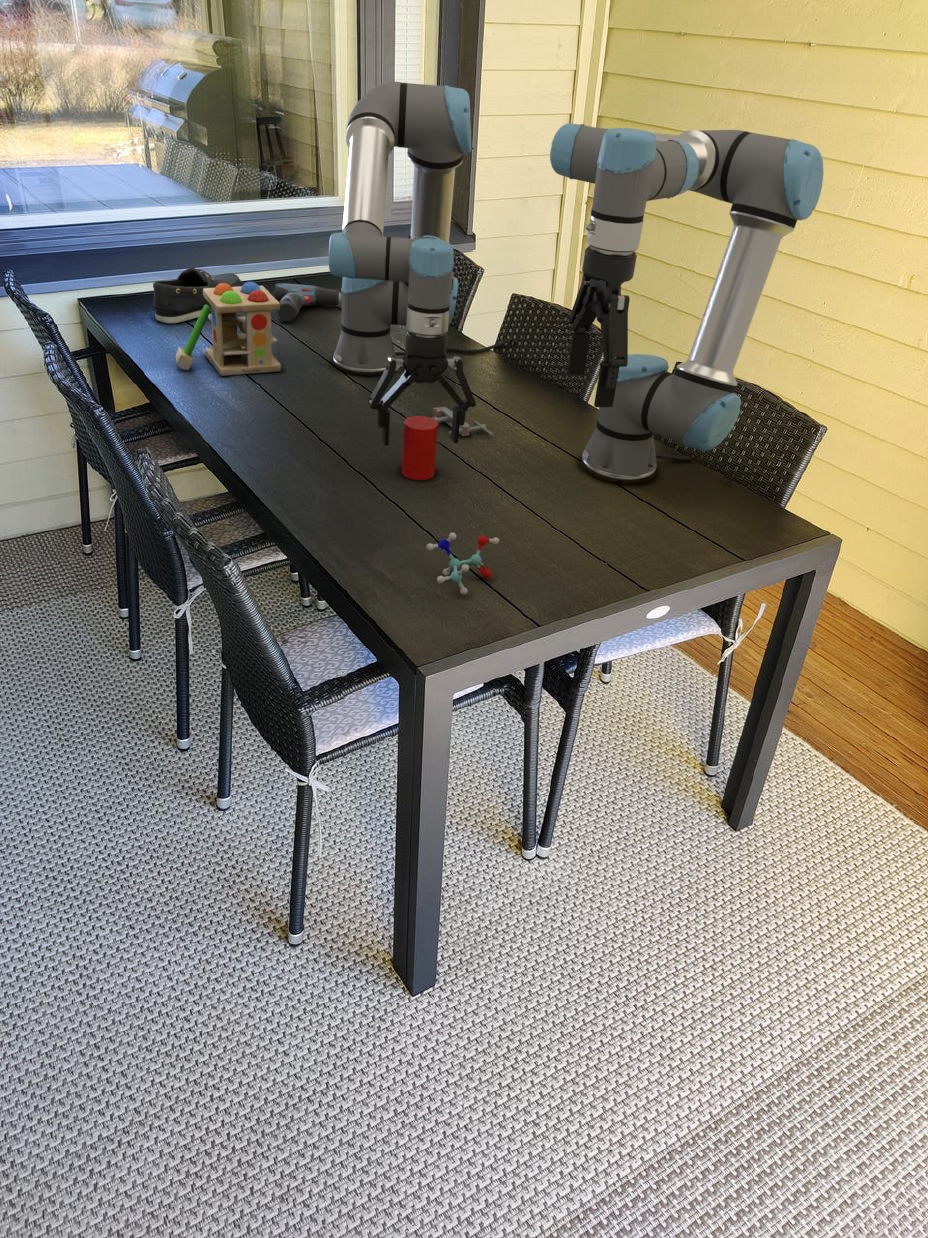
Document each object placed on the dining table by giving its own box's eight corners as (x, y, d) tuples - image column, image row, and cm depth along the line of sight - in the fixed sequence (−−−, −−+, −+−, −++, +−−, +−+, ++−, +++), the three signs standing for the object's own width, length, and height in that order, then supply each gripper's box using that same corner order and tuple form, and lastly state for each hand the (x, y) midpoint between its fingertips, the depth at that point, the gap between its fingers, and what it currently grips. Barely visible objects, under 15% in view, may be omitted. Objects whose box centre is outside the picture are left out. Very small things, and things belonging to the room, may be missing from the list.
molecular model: (490, 589, 152) (470, 528, 150) (436, 605, 155) (416, 545, 154) (511, 574, 162) (492, 517, 161) (460, 589, 166) (441, 533, 164)
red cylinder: (411, 462, 195) (414, 413, 189) (439, 470, 193) (443, 421, 187) (395, 474, 190) (398, 423, 184) (425, 483, 188) (428, 432, 182)
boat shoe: (261, 302, 273) (259, 263, 267) (172, 325, 249) (168, 283, 243) (227, 293, 278) (225, 255, 273) (137, 316, 254) (132, 274, 249)
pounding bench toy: (183, 379, 220) (176, 299, 210) (169, 357, 231) (162, 280, 221) (282, 371, 230) (280, 294, 220) (264, 350, 240) (262, 276, 230)
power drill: (335, 306, 256) (344, 285, 273) (264, 300, 255) (277, 279, 272) (335, 327, 259) (344, 304, 276) (264, 320, 258) (277, 299, 275)
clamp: (420, 409, 212) (460, 403, 217) (420, 418, 213) (460, 412, 218) (454, 436, 202) (496, 430, 206) (454, 446, 203) (495, 439, 208)
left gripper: (362, 338, 170) (359, 451, 182) (499, 338, 176) (487, 447, 188) (354, 324, 176) (352, 435, 188) (487, 325, 182) (477, 431, 194)
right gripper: (561, 226, 150) (543, 360, 162) (616, 272, 130) (591, 421, 142) (607, 228, 152) (586, 361, 164) (668, 273, 132) (639, 421, 144)
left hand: (420, 441), depth 188 cm, fingers open, 13 cm apart
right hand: (588, 389), depth 153 cm, fingers open, 13 cm apart
